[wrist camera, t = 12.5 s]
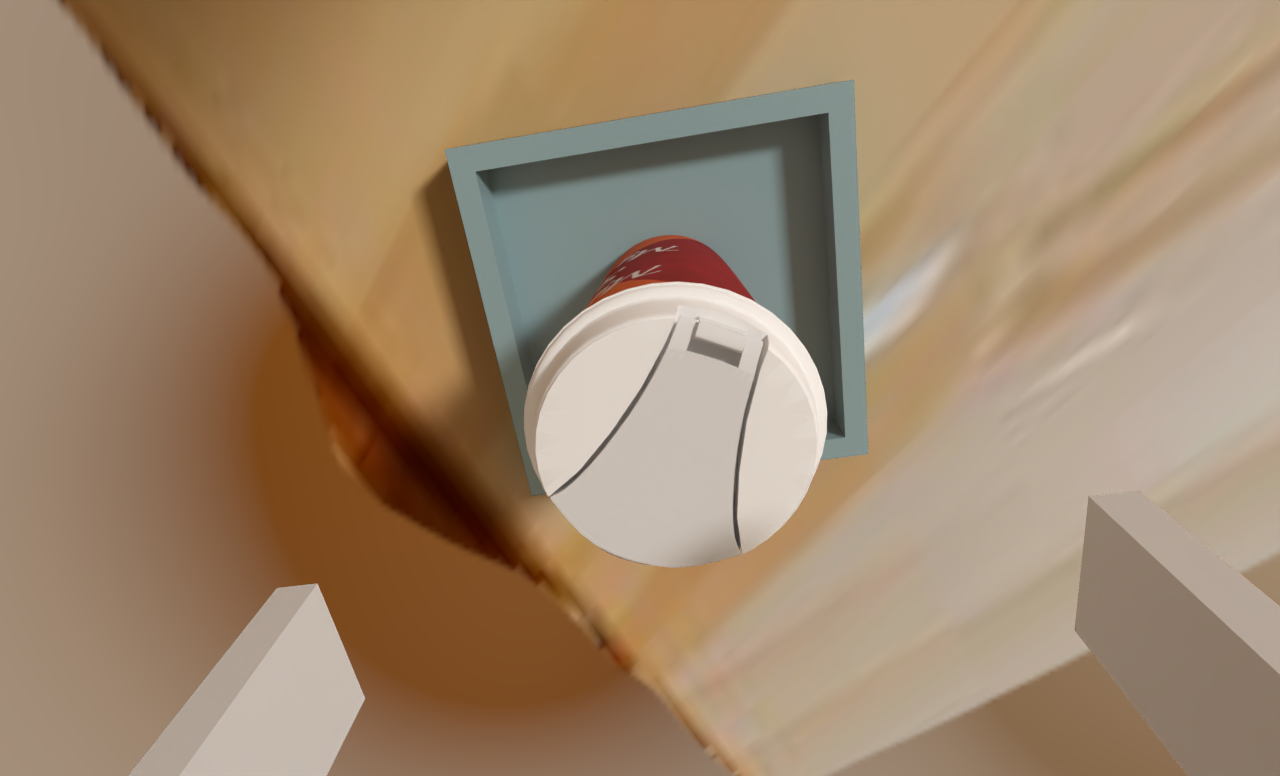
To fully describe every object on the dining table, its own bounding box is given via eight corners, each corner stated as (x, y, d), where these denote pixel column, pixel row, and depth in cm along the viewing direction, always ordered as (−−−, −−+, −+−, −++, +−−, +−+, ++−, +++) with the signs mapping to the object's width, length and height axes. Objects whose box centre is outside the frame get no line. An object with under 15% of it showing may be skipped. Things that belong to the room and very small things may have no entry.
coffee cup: (610, 181, 29) (562, 248, 15) (789, 242, 30) (896, 358, 16) (558, 355, 32) (480, 542, 19) (721, 407, 33) (763, 623, 19)
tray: (462, 146, 30) (444, 149, 27) (837, 82, 28) (853, 80, 26) (540, 469, 36) (531, 495, 33) (853, 429, 34) (868, 454, 32)
